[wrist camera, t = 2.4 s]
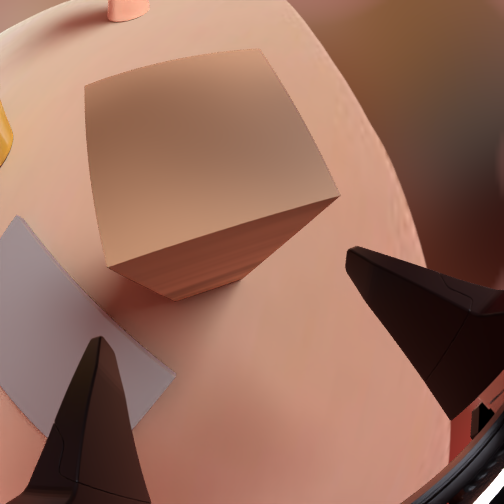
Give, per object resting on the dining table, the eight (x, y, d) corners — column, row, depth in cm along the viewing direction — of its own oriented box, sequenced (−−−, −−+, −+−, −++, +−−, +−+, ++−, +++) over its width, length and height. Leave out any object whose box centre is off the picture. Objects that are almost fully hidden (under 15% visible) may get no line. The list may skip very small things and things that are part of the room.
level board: (176, 373, 18) (175, 377, 17) (96, 469, 15) (92, 476, 14) (23, 219, 18) (16, 214, 17) (-35, 319, 15) (-43, 318, 14)
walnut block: (242, 278, 20) (340, 195, 6) (175, 301, 19) (107, 267, 5) (219, 215, 21) (259, 48, 7) (154, 235, 20) (84, 85, 5)
